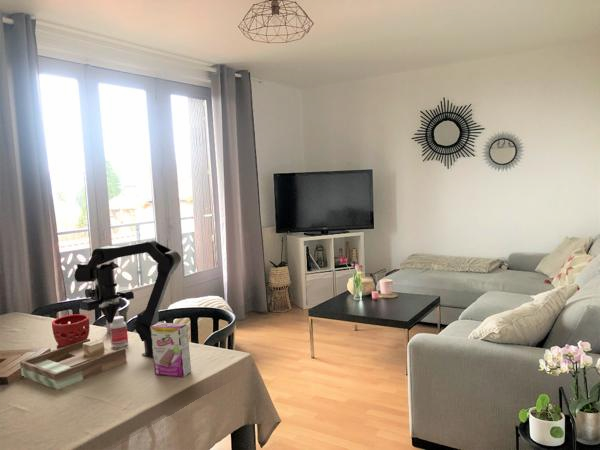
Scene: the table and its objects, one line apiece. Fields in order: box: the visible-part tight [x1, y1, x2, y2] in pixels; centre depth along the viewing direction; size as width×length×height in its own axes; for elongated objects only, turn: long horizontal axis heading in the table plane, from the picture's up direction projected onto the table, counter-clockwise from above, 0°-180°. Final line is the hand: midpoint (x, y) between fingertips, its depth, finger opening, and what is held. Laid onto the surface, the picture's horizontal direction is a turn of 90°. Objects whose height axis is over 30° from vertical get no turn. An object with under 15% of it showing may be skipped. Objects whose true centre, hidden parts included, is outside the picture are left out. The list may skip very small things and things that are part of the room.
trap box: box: [19, 338, 128, 391], centre depth 171 cm, size 23×25×5 cm
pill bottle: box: [110, 315, 129, 348], centre depth 193 cm, size 6×6×11 cm
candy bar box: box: [150, 321, 192, 378], centre depth 161 cm, size 11×5×16 cm, turn 71°
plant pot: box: [51, 313, 90, 350], centre depth 192 cm, size 13×13×12 cm
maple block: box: [83, 338, 105, 357], centre depth 177 cm, size 5×5×4 cm
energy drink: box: [105, 308, 120, 333], centre depth 212 cm, size 5×5×12 cm
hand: (110, 322), depth 182 cm, fingers closed
